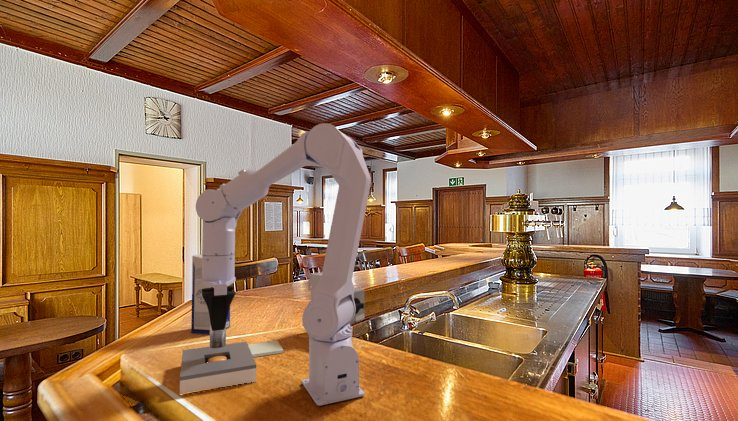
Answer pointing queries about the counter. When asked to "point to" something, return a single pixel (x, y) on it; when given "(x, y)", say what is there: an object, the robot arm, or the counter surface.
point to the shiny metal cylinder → (217, 338)
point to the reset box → (216, 367)
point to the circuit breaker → (357, 297)
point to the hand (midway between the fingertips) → (217, 327)
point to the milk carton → (200, 301)
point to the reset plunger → (217, 358)
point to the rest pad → (265, 348)
